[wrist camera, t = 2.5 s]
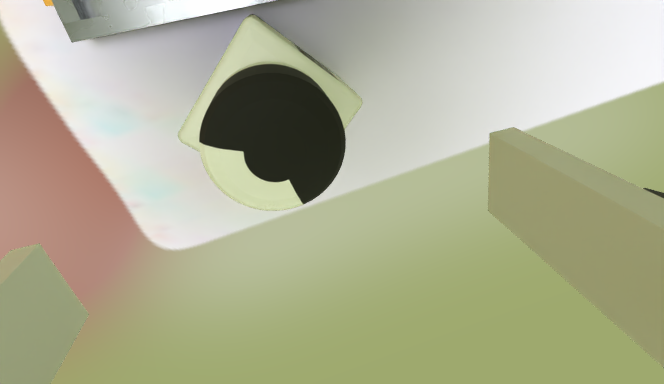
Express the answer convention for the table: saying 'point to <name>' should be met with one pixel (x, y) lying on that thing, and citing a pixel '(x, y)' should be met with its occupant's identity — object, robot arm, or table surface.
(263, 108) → the container
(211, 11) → the rack tray
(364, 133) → the table surface
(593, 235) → the robot arm
